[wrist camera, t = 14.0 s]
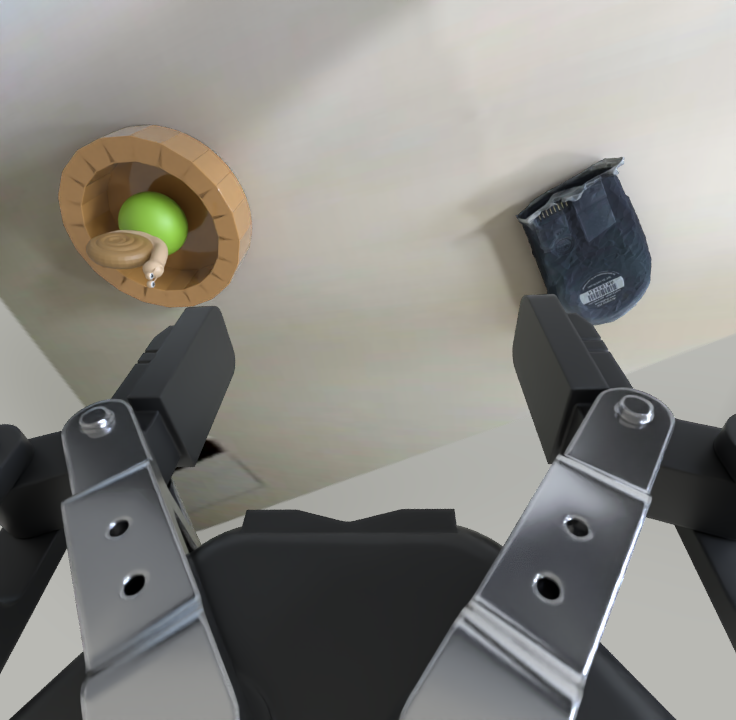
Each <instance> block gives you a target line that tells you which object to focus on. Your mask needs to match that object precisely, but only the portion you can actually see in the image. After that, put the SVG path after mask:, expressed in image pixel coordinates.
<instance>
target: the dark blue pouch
mask: <svg viewBox="0 0 736 720" xmlns="http://www.w3.org/2000/svg"><path fill="white" fill-rule="evenodd" d="M623 160H624V157H620V158H607V159H606V158H605V159H603V160H601V161H600V162H598V163H596V164H594V165H593V166H591V167H589V168H588V169H586V170H585V171H583V172H581V173H580V174H578V175H576V176H574V177H572V178H571V179H569V180H567V181H565V182H564V183H562V184H560V185H559V186H557V187H555V188H553V189H551V190H549V191H547V192H546V193H544V194H542V195H540V196H539V197H537V198H536V199H534V200H533V201H532V202H531V203H530V204H529V206H528V207H527V208H526V209H525V210H523V211H522V212H521V213H520V214H519V215H516V217H517V219H518V220H519V222H520V223H521V224H522V225H523V228H524V230H525V233H526V235H527V237H528V240H529V243H530V245H531V248H532V254H533V255H534V257H535V259H536V261H537V264H538V267H539V269H540V272H541V275H542V277H543V280H544V283H545V285H546V288H547V290H548V294H555V295H556V296H557V298H558V299H559V301H560V303H561V305H562V306H563V308H564V310H565V312H566V313H577V314H579V315H580V316H581V317H583V318H584V319H586V320H587V321H588V322H590V323H591V324H592V325H600V324H604V323H609V322H613V321H615V320H617V319H618V318H620V317H622V316H623V315H625V314H626V313H627V312H628V311H630V310H631V309H632V308H633V307H634V306H636V303H637V302H638V301H639V300H640V299H641V298H642V296H643V295H644V293H645V292H646V290H647V288H648V286H649V284H650V274H651V256H650V253H649V250H648V245H647V243H646V237H645V235H644V232H643V230H642V227H641V225H640V223H639V219H638V217H637V215H636V213H635V210H634V208H633V206H632V204H631V201H630V199H629V197H628V196H627V195H625V193H624V190H623V188H622V186H621V183H620V180H619V179H618V177H617V176H616V175H617V174H618V173H619V172H618V171H617V170H616V169H617V168H618V167H619V166H621V165H623V164H624V161H623Z"/></svg>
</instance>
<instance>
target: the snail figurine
mask: <svg viewBox="0 0 736 720" xmlns="http://www.w3.org/2000/svg"><path fill="white" fill-rule="evenodd" d="M118 224H119V229H120V230H117V231H112V232H109V233H106V234H102V235H99V236H96V237H94V238H93V239H91V240H90V241H89V242H88V244H87V246H86V253H87V255H88V257H89V258H90V259H91V260H92V261H93V262H95V263H96V264H98V265H101V266H104V267H107V268H113V269H131V268H137V267H140V266H143V272H144V274H145V277H146V278H147V279H148V280H149V281H148V282H147V286H148V287H149V288H153V287H154V286H155V283H154V282H155V280H156V279H157V278H158V277H160V276H161V275H162V274H163V272H164V266H165V264H166V261H167V258H168V255H171V254H173V253H175V252H176V251H178V250H179V249H180V248H181V247H182V245H183V244H184V242H185V241H186V238H187V234H188V222H187V219H186V216H185V214H184V212H183V210H182V209H181V207H180V206H179V205H178V204H177V203H176V202H175V201H174V200H173V199H171V198H170V197H168V196H166V195H164V194H161V193H158V192H152V191H145V192H140V193H137V194H134V195H132V196H131V197H129V198H128V199H127V200H126V201H125V202H124V203H123V205H122V207H121V209H120V211H119V216H118ZM153 278H155V280H154V281H152V280H151V279H153Z"/></svg>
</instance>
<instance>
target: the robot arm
mask: <svg viewBox="0 0 736 720" xmlns="http://www.w3.org/2000/svg"><path fill="white" fill-rule="evenodd" d="M513 363H514V367H515V370H516V373H517V376H518V379H519V382H520V385H521V388H522V390H523V393H524V396H525V399H526V402H527V405H528V408H529V410H530V413H531V416H532V419H533V422H534V425H535V427H536V431H537V433H538V436H539V439H540V441H541V444H542V448H543V451H544V453H545V456H546V459H547V462H548V464H552V465H551V467H550V469H549V470H548V472H547V473H546V475H545V477H544V479H543V480H542V482H541V483H540V485H539V487H538V489H537V490H536V492H535V494H534V495H533V497H532V499H531V500H530V502H529V504H528V505H527V507H526V509H525V510H524V512H523V514H522V516H521V517H520V519H519V520H518V522H517V524H516V526H515V527H514V529H513V531H512V532H511V534H510V536H509V538H508V539H507V541H506V542H505V544H504V546H501V545H500V544H498V543H497V542H495V541H494V540H492V539H490V538H488V537H486V536H484V535H482V534H480V533H478V532H476V531H473V530H470V529H468V528H465V527H461V526H457V525H456V519H455V511H454V509H401V510H397V511H393V512H389V513H385V514H380V515H376V516H372V517H369V518H364V519H361V520H356V521H351V522H345V521H339V520H335V519H332V518H328V517H323V516H320V515H316V514H312V513H308V512H304V511H300V510H247V511H246V515H245V518H244V522H243V526H242V527H238V528H235V529H232V530H230V531H227V532H224V533H222V534H220V535H218V536H216V537H214V538H212V539H210V540H209V541H207V542H205V543H204V544H202V545H201V543H200V541H199V539H198V536H197V534H196V532H195V529H194V527H193V525H192V522H191V520H190V518H189V515H188V513H187V510H186V508H185V506H184V503H183V501H182V499H181V496H180V494H179V492H178V489H177V487H176V485H175V482H174V481H173V479H172V477H171V476H172V474H173V472H174V470H175V468H176V467H195V465H196V462H197V460H198V457H199V455H200V453H201V450H202V448H203V445H204V443H205V441H206V438H207V436H208V434H209V431H210V429H211V426H212V424H213V422H214V419H215V417H216V414H217V412H218V410H219V407H220V405H221V403H222V400H223V398H224V395H225V393H226V391H227V388H228V386H229V384H230V381H231V379H232V376H233V374H234V370H235V354H234V350H233V347H232V344H231V341H230V338H229V335H228V332H227V329H226V325H225V322H224V319H223V316H222V313H221V311H220V309H219V308H218V307H217V306H202V307H187V308H186V309H185V310H184V312H183V313H182V315H181V316H180V318H179V319H178V321H177V322H176V324H175V325H174V326H169V327H168V328H166V329H165V330H164V331H162V332H161V333H160V334H158V335H157V336H156V337H154V339H153V340H152V341H151V343H150V344H149V346H148V347H147V349H146V350H145V353H143V354H142V356H141V357H140V358H139V360H138V364H135V366H134V367H133V368H132V370H131V371H130V373H129V374H128V376H127V377H126V378H125V380H124V381H123V383H122V384H121V385H120V387H119V388H118V390H117V391H116V393H115V394H114V395H113V397H112V398H111V399H108V400H103V401H99V402H96V403H93V404H91V405H89V406H87V407H85V408H83V409H81V410H80V411H78V412H77V413H76V414H74V415H73V416H72V417H71V418H70V419H69V420H68V421H67V423H66V424H65V425H64V427H63V429H62V431H59V432H55V433H51V434H47V435H43V436H39V437H35V438H31V439H27V438H26V437H25V436H24V434H23V433H22V432H21V431H20V429H18V428H17V427H16V426H13V425H8V424H2V425H0V525H1V526H2V527H3V528H2V529H1V531H0V673H1V671H2V669H3V667H4V665H5V664H6V662H7V660H8V658H9V656H10V654H11V652H12V651H13V649H14V647H15V645H16V643H17V641H18V639H19V637H20V636H21V634H22V632H23V630H24V628H25V626H26V624H27V622H28V620H29V619H30V617H31V615H32V613H33V611H34V609H35V607H36V605H37V604H38V602H39V600H40V598H41V596H42V594H43V592H44V590H45V588H46V586H47V585H48V583H49V581H50V579H51V577H52V575H53V573H54V572H55V570H56V568H57V566H58V564H59V562H60V560H61V558H62V557H63V555H64V553H65V551H66V549H67V550H68V556H69V563H70V569H71V575H72V581H73V587H74V594H75V600H76V607H77V613H78V619H79V626H80V632H81V638H82V645H83V652H82V653H81V654H80V655H79V656H78V657H77V658H75V659H74V660H73V661H72V662H71V663H70V664H69V665H68V666H67V667H66V668H65V669H64V670H62V671H61V672H60V673H59V674H58V675H57V676H56V677H55V678H54V679H53V680H52V681H51V682H49V683H48V684H47V685H46V686H45V687H44V688H43V689H42V690H41V691H40V692H39V693H38V694H37V695H35V696H34V697H33V698H32V699H31V700H30V701H29V702H28V703H27V704H26V705H24V706H23V707H22V708H21V709H20V710H19V711H18V712H17V713H16V714H15V715H14V716H13V717H11V718H10V719H9V720H676V719H675V718H674V717H673V716H672V715H671V714H670V713H669V712H668V711H667V710H666V709H665V708H664V707H663V706H662V705H661V704H660V703H659V702H658V701H657V700H656V699H655V698H654V697H653V696H652V695H651V693H649V691H648V690H647V689H646V688H645V687H644V686H643V685H642V684H641V683H640V682H639V681H638V680H637V679H636V678H635V677H634V676H633V675H632V674H631V673H630V672H629V671H628V670H627V669H626V668H625V667H624V666H623V665H622V664H621V663H620V662H619V661H618V660H617V659H616V658H615V657H614V656H613V655H612V654H611V653H610V652H609V651H608V650H607V649H606V648H605V647H604V646H603V645H602V644H601V643H600V640H601V638H602V635H603V632H604V629H605V627H606V624H607V621H608V619H609V616H610V613H611V610H612V608H613V605H614V602H615V599H616V597H617V594H618V591H619V589H620V586H621V583H622V580H623V578H624V575H625V572H626V570H627V566H628V564H629V561H630V558H631V556H632V553H633V550H634V547H635V545H636V542H637V539H638V537H639V534H640V531H641V529H642V526H643V523H644V520H645V518H646V517H647V518H651V519H655V520H659V521H662V522H666V523H670V524H673V525H675V527H676V529H677V531H678V533H679V535H680V537H681V539H682V542H683V544H684V546H685V548H686V550H687V552H688V554H689V556H690V558H691V560H692V562H693V565H694V567H695V569H696V571H697V573H698V575H699V577H700V579H701V581H702V583H703V585H704V587H705V589H706V591H707V594H708V596H709V597H710V600H711V602H712V604H713V606H714V608H715V610H716V612H717V614H718V616H719V619H720V621H721V623H722V625H723V627H724V629H725V631H726V633H727V635H728V637H729V639H730V641H731V643H732V645H733V648H734V650H735V652H736V414H735V415H733V416H731V417H730V418H729V419H728V420H727V422H726V423H725V425H724V426H723V428H717V427H713V426H708V425H703V424H698V423H693V422H688V421H683V420H679V419H676V418H674V415H673V413H672V412H671V410H670V409H669V408H668V407H667V406H666V405H665V404H664V403H663V402H662V401H660V400H659V399H657V398H656V397H654V396H652V395H650V394H648V393H645V392H643V391H639V390H636V389H633V387H632V386H631V384H630V383H629V381H628V379H627V378H626V376H625V375H624V373H623V372H622V370H621V368H620V367H619V365H618V364H617V362H616V361H615V359H614V358H613V356H612V354H611V353H610V352H608V348H607V347H606V345H605V343H604V342H603V340H601V337H600V336H599V334H598V333H597V331H596V329H595V328H594V326H593V325H592V324H591V323H590V322H588V321H587V320H586V319H584V318H583V317H581V316H580V315H579V314H577V313H566V312H565V310H564V308H563V306H562V305H561V303H560V301H559V299H558V298H557V296H556V295H555V294H546V295H524V296H523V297H522V299H521V303H520V308H519V314H518V319H517V325H516V330H515V336H514V341H513Z"/></svg>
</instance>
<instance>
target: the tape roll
mask: <svg viewBox="0 0 736 720" xmlns="http://www.w3.org/2000/svg"><path fill="white" fill-rule="evenodd" d="M145 191H152V192H158V193H161V194H164V195H166V196H168V197H170V198H171V199H173V200H174V201H175V202H176V203H177V204H178V205H179V206H180V207H181V209H182V210H183V212H184V214H185V216H186V219H187V222H188V234H187V238H186V241H185V242H184V244H183V245H182V247H181V248H180V249H179V250H178V251H176V252H175V253H173V254H171V255H168V258H167V261H166V264H165V266H164V272H163V274H162V275H161V276H160V277H158V278H157V279H156V280H155V278H153V279H151V280H152V281H154V280H155V282H154V283H155V286H154V287H153V288H149V287H148V286H147V282H148V281H149V280H148V279H147V278H146V277H145V274H144V272H143V266H140V267H137V268H131V269H113V268H107V267H104V266H101V265H98V264H96V263H95V262H93V261H92V260H91V259H90V258H89V257H88V255H87V253H86V246H87V244H88V242H89V241H90V240H91V239H93V238H94V237H96V236H99V235H102V234H106V233H109V232H112V231H117V230H120V229H119V224H118V216H119V211H120V209H121V207H122V205H123V203H124V202H125V201H126V200H127V199H128V198H129V197H131V196H132V195H134V194H137V193H140V192H145ZM58 200H59V205H60V210H61V215H62V220H63V225H64V227H65V229H66V231H67V233H68V235H69V237H70V238H71V240H72V242H73V244H74V246H75V248H76V250H77V251H78V252H79V253H80V255H81V256H82V257H83V258H84V259H85V261H86V262H87V263H88V264H89V265H90V266H91V268H92V269H93V270H94V271H95V272H96V273H97V274H98V275H100V276H101V277H102V278H104V279H105V280H106V281H108V282H109V283H110V284H112V285H113V286H114V287H115V288H117V289H118V290H119V291H122V292H124V293H126V294H128V295H130V296H132V297H134V298H136V299H139V300H141V301H143V302H146V303H151V304H156V305H160V306H165V307H189V306H195V305H198V304H200V303H203V302H205V301H208V300H211V299H213V298H214V297H216V296H217V295H218V294H219V293H220V292H221V291H222V290H223V289H224V288H226V287H227V286H228V285H229V284H230V282H231V280H232V279H233V277H234V275H235V274H236V272H237V270H238V268H239V267H240V265H241V263H242V261H243V259H244V257H245V255H246V253H247V251H248V249H249V246H250V241H251V233H252V220H251V213H250V208H249V205H248V202H247V198H246V196H245V194H244V191H243V189H242V187H241V185H240V184H239V182H238V180H237V178H236V177H235V175H234V174H233V173H232V171H231V170H230V169H229V167H228V166H227V165H226V164H225V163H224V162H223V161H222V159H221V158H220V157H219V156H218V155H216V154H215V153H214V152H213V151H212V150H211V149H210V148H208V147H207V146H205V145H204V144H203V143H201V142H200V141H198V140H196V139H194V138H193V137H191V136H189V135H187V134H185V133H182V132H180V131H177V130H174V129H170V128H167V127H162V126H155V125H140V126H133V127H125V128H123V129H120V130H118V131H115V132H113V133H111V134H108V135H106V136H103V137H101V138H99V139H97V140H95V141H93V142H91V143H89V144H87V145H86V146H84V147H82V148H80V149H78V150H77V151H76V152H75V153H74V155H73V156H72V158H71V159H70V161H69V162H68V164H67V165H66V166H65V168H64V169H63V171H62V175H61V181H60V187H59V193H58Z"/></svg>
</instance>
